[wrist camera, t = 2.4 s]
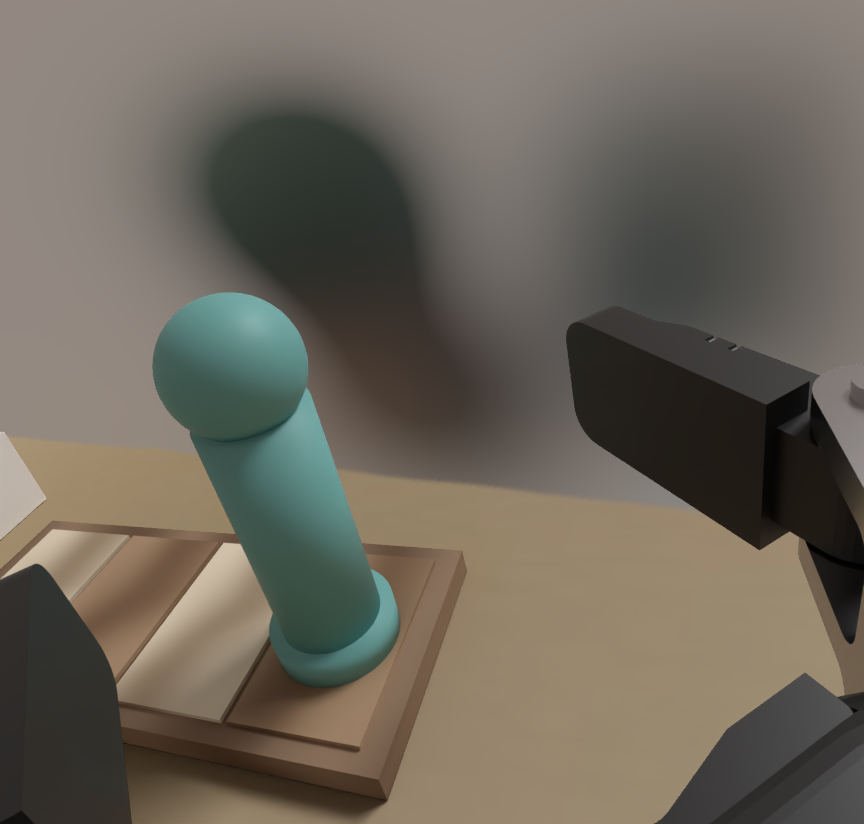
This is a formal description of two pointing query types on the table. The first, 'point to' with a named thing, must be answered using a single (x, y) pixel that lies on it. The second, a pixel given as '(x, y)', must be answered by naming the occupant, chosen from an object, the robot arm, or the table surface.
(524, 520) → the table surface
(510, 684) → the table surface
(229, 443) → the pawn
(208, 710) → the board
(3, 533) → the die
